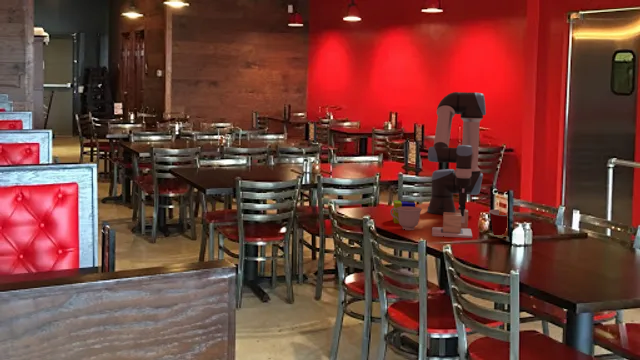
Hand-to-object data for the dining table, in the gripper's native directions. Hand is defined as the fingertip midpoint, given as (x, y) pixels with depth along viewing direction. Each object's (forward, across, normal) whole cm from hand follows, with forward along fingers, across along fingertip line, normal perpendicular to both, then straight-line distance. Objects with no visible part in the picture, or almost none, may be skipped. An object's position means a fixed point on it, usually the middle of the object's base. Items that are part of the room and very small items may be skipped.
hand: (461, 220), depth 395 cm
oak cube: (+2, +19, -5) cm, 20 cm away
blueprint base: (+3, +19, -5) cm, 20 cm away
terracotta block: (+3, 0, 0) cm, 3 cm away
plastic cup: (+4, +24, +17) cm, 29 cm away
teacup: (+3, +14, -26) cm, 30 cm away
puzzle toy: (+3, -7, -28) cm, 29 cm away
